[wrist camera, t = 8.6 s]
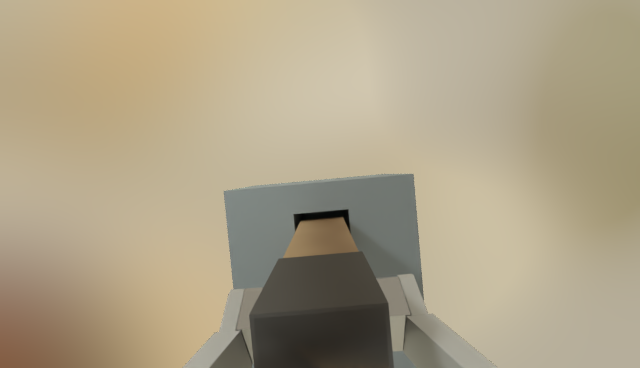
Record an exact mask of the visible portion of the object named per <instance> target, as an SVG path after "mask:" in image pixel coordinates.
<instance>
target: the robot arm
mask: <svg viewBox="0 0 640 368" xmlns="http://www.w3.org/2000/svg"><path fill="white" fill-rule="evenodd" d="M376 279H377V281H378V283H379V285H380V287H381V289H382V291H383V293H384V295H385V297H386V299H387V301H388V304H389V315H390V327H391V338H392V350H393V352H394V351H404V354H405V355H406V356H407V357H408V358H409V359H410V360H411V362H412V363H413V364H414V365H415V366H416V367H417V368H497V366H496V365H494V364H493V363H492V362H491V361H490V360H488V359H487V358H486V357H485V356H483V355H482V354H481V353H480V352H479V351H477V350H476V349H475V348H474V347H473V346H471V345H470V344H469V343H468V342H467V341H465V340H464V339H463V338H462V337H460V336H459V335H458V334H457V333H456V332H454V331H453V330H452V329H451V328H450V327H448V326H447V325H446V324H445V323H444V322H442V321H441V320H440V319H439V318H437V317H436V316H435V315H434V314H428V312H427V309H426V306H425V304H424V301H423V298H422V296H421V293H420V290H419V288H418V285H417V282H416V280H415V277H414V275H413V274H403V275H391V276H381V277H376ZM262 289H263V287H260V288H246V289H233V290H231V291H230V293H229V294H228V298H227V302H226V306H225V311H224V314H223V319H222V322H221V327H220V331H219V332H216V333H214V334H213V335H212V336H211V337H210V338H209V339H208V341H207V342H206V343H205V344H204V345H203V346H202V347H201V348H200V350H198V351H197V353H196V354H195V355H194V356H193V357H192V358H191V359H190V360H189V361H188V363H186V365H185V366H184V367H183V368H251V367H252V364H254V360H253V350H252V340H251V330H250V320H249V314H250V312H251V310H252V308H253V306H254V304H255V302H256V300H257V299H258V297H259V295H260V293H261V291H262Z"/></svg>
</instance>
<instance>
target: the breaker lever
mask: <svg viewBox="0 0 640 368" xmlns="http://www.w3.org/2000/svg"><path fill="white" fill-rule="evenodd" d="M249 320H250V330H251V340H252V350H253V360H254V368H394V362H393V350H392V338H391V327H390V315H389V304H388V301H387V299H386V297H385V295H384V293H383V291H382V289H381V287H380V285H379V283H378V281H377V279H376V277H375V275H374V273H373V271H372V269H371V267H370V265H369V263H368V261H367V260H366V258H365V256H364V254H363V252H362V251H358V249H357V247H356V244H355V242H354V240H353V238H352V236H351V234H350V231H349V229H348V227H347V225H346V223H345V221H344V218H343V217H332V218H321V219H310V220H301V221H300V223H299V225H298V227H297V229H296V232H295V234H294V236H293V238H292V240H291V242H290V244H289V246H288V248H287V250H286V252H285V255H284V257H283V258H279V259H278V261H277V262H276V264H275V266H274V268H273V270H272V272H271V274H270V276H269V278H268V280H267V281H266V283H265V285H264V287H263V289H262V291H261V293H260V295H259V297H258V299H257V300H256V302H255V304H254V306H253V308H252V310H251V312H250V314H249Z"/></svg>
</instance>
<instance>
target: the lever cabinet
mask: <svg viewBox="0 0 640 368" xmlns="http://www.w3.org/2000/svg"><path fill="white" fill-rule="evenodd" d="M224 198H225V209H226V218H227V228H228V238H229V248H230V259H231V268H232V279H233V288H234V289H246V288H260V287H264V285H265V283H266V281H267V280H268V278H269V276H270V274H271V272H272V270H273V268H274V266H275V264H276V262H277V261H278V259H279V258H283V257H284V255H285V252H286V250H287V248H288V246H289V244H290V242H291V240H292V238H293V236H294V234H295V232H296V229H297V227H298V225H299V223H300V221H301V220H310V219H321V218H332V217H343V218H344V221H345V223H346V225H347V227H348V229H349V231H350V234H351V236H352V238H353V240H354V242H355V244H356V247H357V249H358V251H362V252H363V254H364V256H365V258H366V260H367V261H368V263H369V265H370V267H371V269H372V271H373V273H374V275H375V277H381V276H391V275H403V274H413V275H414V277H415V280H416V282H417V285H418V288H419V290H420V293H421V296H422V298H423V301H424V297H423V284H422V272H421V259H420V247H419V235H418V223H417V211H416V200H415V187H414V175H413V174H381V175H370V176H358V177H347V178H336V179H325V180H314V181H303V182H292V183H281V184H270V185H260V186H251V187H245V188H239V189H234V190H228V191H224ZM393 362H394V368H417V367H416V366H415V365H414V364H413V363H412V362H411V360H410V359H409V358H408V357H407V356H406V355H405V354H404V351H394V352H393ZM251 368H254V364H252V367H251Z"/></svg>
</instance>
